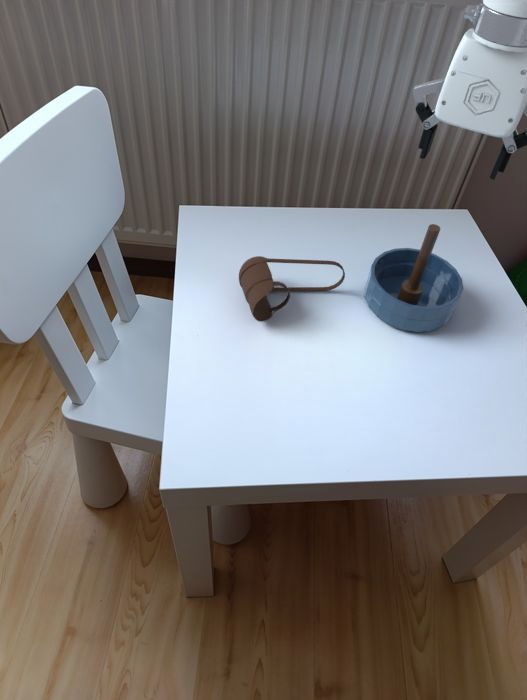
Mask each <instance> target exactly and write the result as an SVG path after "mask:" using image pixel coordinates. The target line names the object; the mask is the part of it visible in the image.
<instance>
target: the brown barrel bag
mask: <svg viewBox="0 0 527 700" xmlns="http://www.w3.org/2000/svg"><path fill="white" fill-rule="evenodd" d="M268 263H272V264H273V263H276V264H277V263H278V264H299V265H300V264H301V265H302V264H303V265H305V264H306V265H329V266H336V267H337V268H340V270H341V271H342V276H341V278H340V279H339V280H338V281H337V282H335V283H334V284H332V285H329V286H293V287H292V286H291V287H288V286H287V285H286V284H285V283H284V282H281V281H277V280H275V281H274V278H273V274H272V271H271V268H270V267H269V264H268ZM345 273H346V272H345V269H344V267H343V266H342V265H341V263H339V262H337V261H335V260H321V259H320V260H319V259H295V258H269V257H268V258H267V257H265V256H261V255H257V256H252V257H250V258H248V259H247V260H245V261H244V262H243V263H242V265H241V266H240V269H239V271H238V282H239V286H240V287H241V290H242V292H243V295H244V299H245V301H246V303H247V304H248V306H249V309H250V312H251V316H252V317H253V318H254V319H255V320H256V321H257V322H265V321H267V320H270V319H271V318H272V317H273V312H277V311H279V310H280V309H282V308H283V307H285V306H286V305H287V304H288V302H289V301H290V297H291V293H290V292H326V291H332V290H334V289H336V288H339V286H341V285H342V283H344V280H345V277H346V274H345ZM271 292H287V295H286V297H285V299H283V301H282V302H280V303H279V304H277V305H275V306H272V305H271V303H270V300H269V298H268V295H269V294H270V293H271Z"/></svg>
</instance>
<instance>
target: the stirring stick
mask: <svg viewBox="0 0 527 700" xmlns="http://www.w3.org/2000/svg"><path fill="white" fill-rule="evenodd" d="M440 231H441V227H440V226H439V225H438V224H434V223H431V224H429V225H428V227H427V230H426V232H425V236H424V238H423V241H422V244H421V246H420V249H419V250H420V252H419V255H418V257H417V260H416V263H415V266H414V269H413V271H412V274H411V277H410V279H409V280H405V281H404V282H403V283H402V286H401V289H400V292H399V295H398V300H400V301H403V302H406V303H408V304H411V305H417V304H418V302H419V299H420V297H421V294H422V292H423V285H422V284H421V283H420V282H421V279H422V276H423V274H424V271H425V269H426V266H427V263H428V261H429V258H430V255H431V253H433V250H434V248H435V245H436V242H437V240H438V237H439V235H440Z"/></svg>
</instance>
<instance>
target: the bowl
mask: <svg viewBox="0 0 527 700" xmlns="http://www.w3.org/2000/svg"><path fill="white" fill-rule="evenodd" d="M419 252H420V249H418V248H413V247H412V248H411V247H399V248H392V249H389V250H386V251H384V252H382V253H380V254H379V255H377V256H376V257H375V258H374V259H373V262H372V264H371V265H370V268H369V273H368V276H367V279H366V283H365V286H364V300H365V302H366V304H367V307H368V308H369V310H370V311H371V312H372V313H373V314H374V315H375V317H377V318H378V319H380V320H381V321H382V322H384V323H385V324H387V325H389V326H391V327H393V328H396V329H398V330H401V331H405V332H413V333H415V332H416V333H421V332H431V331H434V330H437V329H440V328H442V327H444V326H445V325H446V324H447V323H448V322H449V321H450V320H451V318H452V316H453V314H454V312H455V310H456V308H457V305H458V303H459V301H460V299H461V297H462V294H463V292H464V282H463V278H462V276H461V275H460V273H459V271H458V270H457V269H456V267H454V266H453V265H452V264H451V263H450V262H449V261H448V260H446V259H445V258H442V257H441V256H439V255H438V254H436V253H433V252H432V253H431V255H430V258H429V261H428V263H427V266H426V269H425V271H424V274H423V276H422V279H421V282H420V283H421V284H422V285H423V292H422V294H421V297H420V299H419V302H418V304H417V305H411V304H408V303H406V302H403V301H400V300H398V295H399V292H400V289H401V286H402V283H403V282H404V281H405V280H409V279H410V277H411V274H412V271H413V269H414V266H415V263H416V260H417V257H418V255H419Z"/></svg>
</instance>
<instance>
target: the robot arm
mask: <svg viewBox="0 0 527 700" xmlns="http://www.w3.org/2000/svg"><path fill="white" fill-rule="evenodd" d="M463 18H464V19H467V20H469V21H470V22H472V25H473V27H472V28H469V29H468V30H466V31H465V33H464V34H463V36H462V38H461V40H460V42H459V44H458V46H457V48H456V50H455V52H454V55H453V57H452V60H451V63H450V65H449V67H448V70H447V73H446V75H445V77H442V78H438V79H433V80H430V81H427V82H423V83H418V84H416V85H415V86H414V88H413V89H412V96H413V102H414V105H415V112H416V115H417V116H418V118H419V120H420V122H421V123H422V124H421V128H422V133H421V136H420V140H419V144H418V147H417V148H418V149H419V150H421V152H420V155H419V159H422V160H424V159H426V157H427V156H428V154H429V153H430V151H431V148H432V145H433V143H434V139H435V136H436V132H437V130H438V127H439V125H438V124H439V123H440V122H442V123H444V124H446V125H450V126H453V127H457V128H461V129H464V130H468V131H471V132H475V133H478V134H483V135H487V136H489V137H494V138H501V140H502V142H503V144H502V147H501V148H500V151H499V154H498V155H497V158H496V160H495V163H494V165H493V168H492V170H491V172H490V174H489V178H490V180H493V181H495V180H496V177H497V175H498V172H499V173H504V172H505V170H506V168H507V165H508V163H509V161H510V159H511V157H512V155H513V154H514V153H515V152H516V151H517V150H519V149H521V148H524V147H525V146H527V130H525V131H523V132H521V133H518V130H517V127H518V125H519V123H520V121H521V119H522V116H523V114H524V116H526V117H527V0H482V1H481V2H480V3H479V4H474V5H473V4H468V5H467V7H466V8H465V12H464V15H463ZM436 93H439V95H438V98H437V102H436V105H435V109H434V110H432V108H431V106H430V104H429V103H428V101H427V96H429V95H433V94H436Z"/></svg>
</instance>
